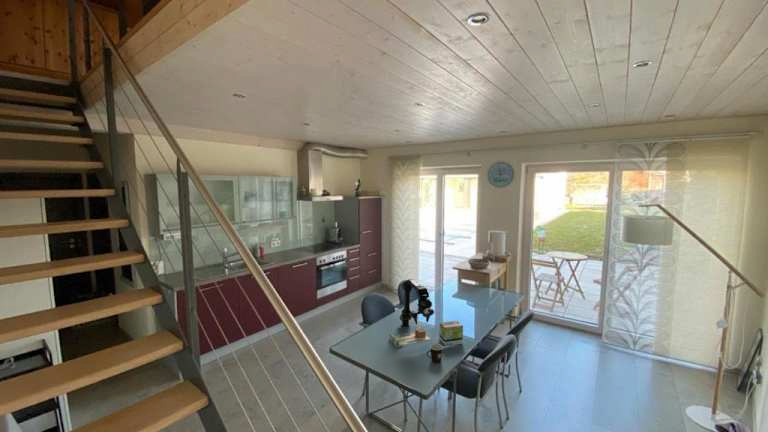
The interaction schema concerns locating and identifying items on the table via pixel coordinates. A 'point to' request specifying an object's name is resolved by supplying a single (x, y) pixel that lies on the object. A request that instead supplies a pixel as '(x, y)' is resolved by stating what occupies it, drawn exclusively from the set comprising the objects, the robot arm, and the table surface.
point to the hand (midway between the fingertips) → (421, 323)
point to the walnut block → (420, 332)
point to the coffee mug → (436, 352)
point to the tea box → (451, 333)
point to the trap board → (406, 339)
